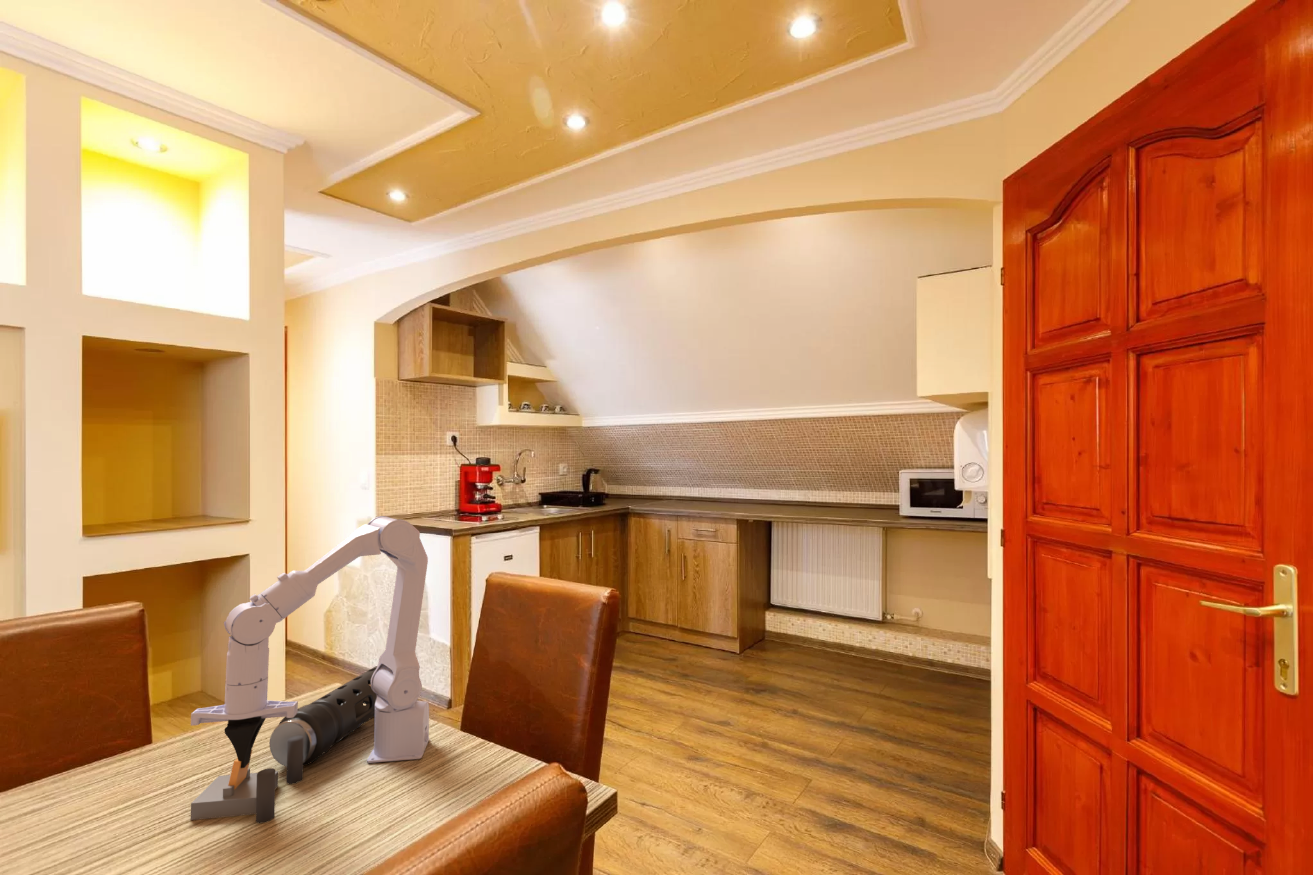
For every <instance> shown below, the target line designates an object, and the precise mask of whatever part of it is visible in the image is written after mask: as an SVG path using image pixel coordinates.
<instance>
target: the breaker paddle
mask: <svg viewBox="0 0 1313 875" xmlns="http://www.w3.org/2000/svg"><path fill="white" fill-rule="evenodd" d="M252 753H253V750H252V751H251V756H250V759H251V758H252V755H253V754H252ZM241 762H242V761H238V757H237V758H236V759H234V761H233V763H232V768H231V772H230V775H231V776H230V780H229V784H228V786H231V785H234V790H235V789H236V788H237V787H238V785H239V784H240V783H241V782H242V781H243V780H244V779H245V778H246V775H247V771H248V768H249V766H250V762H249V763H248V764H247V766H246V767H245V768H241Z"/></svg>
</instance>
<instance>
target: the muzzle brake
mask: <svg viewBox="0 0 1313 875" xmlns="http://www.w3.org/2000/svg"><path fill="white" fill-rule="evenodd" d="M377 666H378V665H377ZM377 666H373V667H371V668H370V669H369V670H366V671H364V673H361V674H359V675H358V676H356V677H354V678H352V679H351V680H349V681H347V682H346V683H344V684H342V685H340V686H339V687H337V688H335V689H333V690H331V691H330V692H328V693H327V694H325V695H323V696H321V697H320V698H318V699H316V700H314V701H312V702H311V703H309V704H305V705H302V706H301V707H299V708H298V711H297V714H296V715H295V716H294V717H293V718H286V717H282V719H281V720H280V721H279V723H278V724H277V726H276V727H275V728H274V729H273V731H272V732H271V735H270V737H269V750H270V754H271V756H272V757H273V759H274V760H275V761H276V762H277V763H278V764H279V765H281V766H282V767H285V768H287V740H288V739H289V738H291V737H294V736H303V737H304V741H303V766H306V765H309V764H312V763H313V762H314V761H316V760H318V759H319V758H320V757H322V756H323V755H324V754H325V753H327V752H328V751H329V750H330V749H331V748H332V747H333V746H334V745H336V744H337V743H338V742H340V741H341V740H342V739H344V738H346V737H347V736H348V735H349V734H351V733H352V732H354V731H356V730H357V729H359V728H360V727H361V726H362V725H364V724H365V723H366V722H368V721H369V720H371V719H372V718H373V717H374V718H375V702H376V699H377V694H376V693H375V692H374V691H373V690H372V688H371V678H372V675H373V673H374V672H375V670H376V668H377Z"/></svg>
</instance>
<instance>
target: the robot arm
mask: <svg viewBox="0 0 1313 875" xmlns="http://www.w3.org/2000/svg"><path fill="white" fill-rule="evenodd" d="M420 535H421V532H420V530H418V529H417V528H416V527H415V526H414V525H413V524H412V523H411V522H409V521H407V520H405V519H400V518H399V519H397V518H392V517H389V516H386V515H379V516H376V517H374V518H372V519H371V520H369V521H368V523H364V524H363V525H361V526H359V527H358V528H357V529H355V530H354V531H353V532H352V533H350V534H349V535H348V536H347V537H346V538H345V539H343V540H342V541H341V542H339V543H338V544H337V545H335V546H334V547H333V548H332V549H330V550H329V551H328V552H327V553H325V554H324V555H323V556H321V557H320V558H319V559H317V561H314V563H313V564H311V565H310V566H309V567H307V568H306V569H305V570H291V571H289V573H286V572H282V573H280V574H279V575H278V576H276V578H277V581H275V582H274V583H273V584H271V585H270V586H269V587H267V588H265V589H264V590H263V591H261V592H260V593H259V594H256V593H254V594H252V595H251V596H250V597H249V600H250V601H249V602H248V601H247V602H243V603H239V604H238V605H237V606H235V607H234V608H232V610H230V611H229V613H228V615H227V616H226V619H225V621H224V622H223V625H224V629H225V631H226V632H227V634H229V635H230V636H228V643H227V649H228V650H227V652H226V666H225V684H224V686H225V688H224V689H225V691H224V704H221V705H214V706H207V707H202V708H201V707H200V708H198V707H197V708H196V709H195V710H194V711H193V712H191V714H190V726H192V727H193V726H199V725H200V724H206V723H207V724H208V723H220V722H223V723H224V722H227V724H226V727H224V735H225V736H226V737H227V738H228V740H229V741H230V742H231V745H232V746H233V749H234V752H235V754H236V756H237V758H238V761H242V762H241V768H245V767H246V766H247V764H248V763H249V764H250V763H251V758H250V756H251V757H252V754H251V751H252V752H253V747H254V744H255V742H256V739H257V737H258V734H259V732H260V730H261V728H262V726H263V725H264V722H265V721H266V719H271V718H273V719H274V718H284V717H286V718H293V717H294V716H295V715H296V714H297V711H298V709H299V708H298V706H299V705H298V704H299V701H298V700H296V701H288V700H287V701H285V700H269V699H268V693H269V692H268V690H269V687H268V686H269V665H270V664H269V662H270V661H269V660H270V647H269V644H270V643H269V642H270V641H269V639H270V638H269V637H271V635H272V634H273V632H274V630H275V628H276V624H277V623H280V622H282V621H283V620H285V619H286V618H287V617H288V616H289V615H291V614H292V613H294V612H295V611H296V610H298V609H299V608H300V607H302V606H303V605H305V604H306V603H307V602H309V601H310V600H311V599H313V598H314V597H315V595H316V592H317V589H318V586H319V584H322V582H324V581H326V580H327V579H328V578H330V577H331V576H334V574H336V573H337V572H339V571H341V569H343V568H345V567H346V566H347V565H349V564H351V563H352V562H354V561H355V560H356V559H358V558H360V557H366V556H368V557H370V556H378V555H381V554H382V553H383V554H384V555H386V557H387V558H389V559H390V560H391V561H392V563H393V564H394V565H395V566H396V567H397V568H396V575H395V576H396V577H395V582H394V589H393V595H392V596H393V597H392V604H391V610H390V611H391V612H390V617H389V622H388V623H389V625H388V631H387V638H386V644H385V650H384V651H383V652H382V653H381V655H380V656H379V658H378V664H377V668H376V670H375V672H374V673H373V675H372V678H371V684H370V686H371V688H372V690H373V691H374V692H375V693H376V694H377V699H376V702H375V716H374V727H373V728H374V730H373V732H374V735H373V738H374V739H373V748H372V750H371V752H370V754H369V756H368V758H367V759H366V763H368V764H371V763H373V764H374V763H384V762H396V761H409V760H420V759H422V758H423V756H424V753H425V751H426V748H427V746H428V743H429V741H430V736H429V732H430V731H429V730H430V704H429V701H425V700H423V701H422V700H418V699H419V697H420V695H422V694H421V693H422V689H423V684H422V680H421V677H420V669H421V667H420V663H419V660H418V656H417V654H416V649H417V647H416V646H417V641H418V633H419V626H420V618H421V613H422V612H421V611H422V605H423V598H424V591H425V586H426V578H427V577H426V575H427V571H428V570H427V569H428V565H429V564H428V563H429V557H428V555H427V552H426V549H425V548H424V545H423V543H422V541H421V538H420V537H421V536H420Z"/></svg>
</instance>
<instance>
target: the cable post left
mask: <svg viewBox="0 0 1313 875" xmlns="http://www.w3.org/2000/svg"><path fill="white" fill-rule="evenodd" d="M275 771H276V768H274V767H273V768H270V767H269V768H264V769H262V770H260V771H258V772H256V773H257V789H256V814H255V822H256V823H257V824H265V823H268V822H270V821H272V820H273V819H274V818H275V811H276V810H275V809H276V808H275V806H276V805H275V804H276V803H275V801H276V800H275V799H276V789H275Z"/></svg>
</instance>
